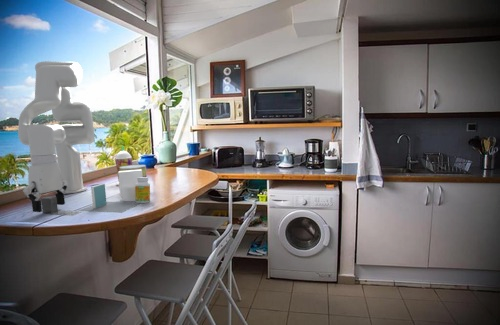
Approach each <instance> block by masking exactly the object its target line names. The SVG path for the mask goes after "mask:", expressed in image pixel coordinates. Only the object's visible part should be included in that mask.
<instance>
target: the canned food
mask: <svg viewBox="0 0 500 325" xmlns="http://www.w3.org/2000/svg"><path fill="white" fill-rule="evenodd" d="M119 169H120V171H129V170H140V169H141V170H142V177H148V176H147V175H148V174H147V165H146V164H132V165H128V166H122V167H119Z"/></svg>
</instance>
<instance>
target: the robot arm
mask: <svg viewBox="0 0 500 325" xmlns="http://www.w3.org/2000/svg"><path fill="white" fill-rule="evenodd" d="M34 69H35V83H34V84H35V86H34V87H35V88H34V99H33V100H31V102H29V103H28V104H27V105H26V106H25V107H24V109H22V111H21V113H20V114H19V118H18V127H17V135H18V139H19V141H20V143H21V144H22V145H25V146H28V148H29V154H30V164H31V165H29V166H28V175H27V176H28V178H27V180H28V181H27V182H28V185H27V186H26V187H24V188H23V189H22V192H23V193H24V196H26V198H27V199H28V200H29V202H30V201H31V206H32V207H31V208H32V212H33V213H41V212H42V204H41V196H42V195H44V194H48V193H52V192H55V193H56V194H55V197H56V199H57V206H59V205H60V206H64V205H65V204H66V202H65V194H67V195H68V194H75V193H76V194H77V193H81V192H85V191H87V190H88V186H84V183H83V182H84V181H83V173H82V171H83V170H82V163H81V162H82V161H81V153H80V151H79V150H78V149H76V147H74V146H75V145H76V146H77V145H90V144H92V143H95V127H94V126H95V125H94V120H93V113H92V107H91V105H90V104H89V102H87V101H84V100H73V98H72V93H71V92H72V91H71V89H70V88H76V87H78V86H80V83H81V82H82V79H83V69H82V67H81V65H80V64H79V63H78V62H76V61H54V60H53V61H49V60H48V61H44V60H43V61H38V62H37V63H36V64H35V65H34ZM49 111H51V112H52V113H51V114H52V117H53V119H54V120H55V121H57V122H60V123H62V122H63V123H69V122H73V124H72V123H70V124H57V123H45V124H44V123H39V124H38V123H37V124H34V123H33V124H31V123H32V122H33V120H34V119H35V118H36V117H38V116H40V115H43V114H45V113H47V112H49ZM75 122H77V123H75ZM78 122H80V123H78ZM73 145H74V146H73Z"/></svg>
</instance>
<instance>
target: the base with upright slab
mask: <svg viewBox="0 0 500 325" xmlns="http://www.w3.org/2000/svg"><path fill="white" fill-rule="evenodd" d="M118 175H119V181H118V184H119V194H120V196H119V197H120V201H121V202H122V201H123V202H132V201H133V202H134V201H135V185H136V183H138V180H137V178H138V177H142V170H141V169H140V170H129V171H119V172H118V174H117V176H118Z"/></svg>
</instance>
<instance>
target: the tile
mask: <svg viewBox="0 0 500 325" xmlns="http://www.w3.org/2000/svg"><path fill="white" fill-rule="evenodd" d="M90 189H91V191H90V192H91V200H92V205H93V208H98V207H101V206H103V205H106V204H107V202H108V201H107V194H106V185H105V183H100V184H95V185H93V186H91V187H90Z"/></svg>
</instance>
